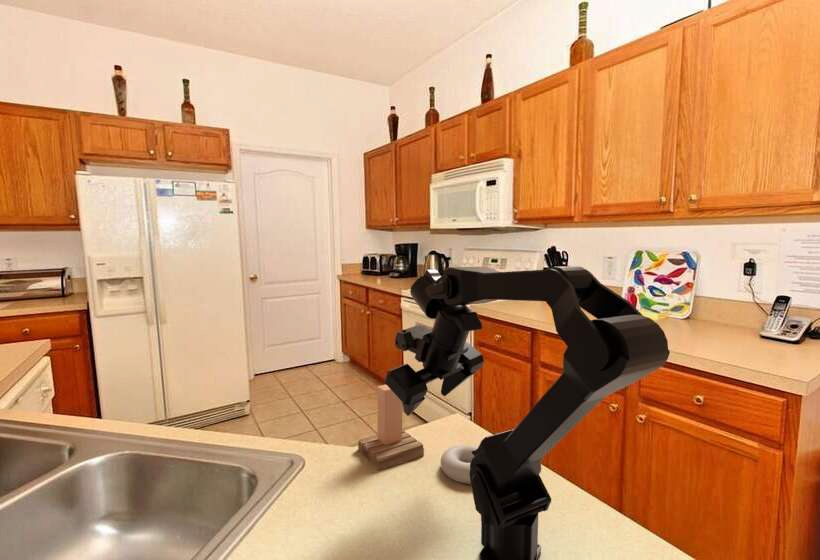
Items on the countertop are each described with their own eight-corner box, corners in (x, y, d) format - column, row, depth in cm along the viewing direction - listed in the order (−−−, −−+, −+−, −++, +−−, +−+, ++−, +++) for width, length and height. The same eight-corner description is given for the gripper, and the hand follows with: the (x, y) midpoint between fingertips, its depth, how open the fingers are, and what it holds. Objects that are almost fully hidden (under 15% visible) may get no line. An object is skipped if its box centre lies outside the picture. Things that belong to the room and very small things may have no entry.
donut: (457, 494, 67) (506, 479, 71) (457, 474, 67) (506, 461, 71) (431, 464, 76) (476, 453, 80) (431, 447, 76) (476, 436, 80)
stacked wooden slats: (423, 455, 79) (423, 445, 79) (378, 470, 73) (378, 459, 73) (400, 437, 86) (400, 427, 86) (358, 449, 81) (358, 439, 81)
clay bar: (402, 439, 81) (402, 386, 80) (384, 445, 79) (384, 390, 78) (394, 434, 83) (394, 382, 82) (377, 439, 81) (377, 386, 80)
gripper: (452, 298, 75) (432, 360, 83) (373, 322, 63) (358, 392, 71) (497, 332, 69) (471, 396, 76) (419, 366, 57) (396, 438, 64)
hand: (425, 403), depth 72 cm, fingers open, 9 cm apart
